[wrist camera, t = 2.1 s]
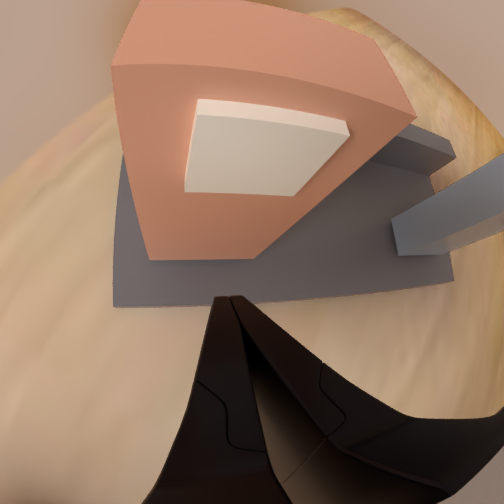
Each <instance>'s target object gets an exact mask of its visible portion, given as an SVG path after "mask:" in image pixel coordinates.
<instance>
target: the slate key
mask: <svg viewBox="0 0 504 504" xmlns="http://www.w3.org/2000/svg"><path fill="white" fill-rule="evenodd" d="M391 221H392V226H393V231H394V236H395V241H396V246H397V251H398V256H409V255H442V254H444V253H447V252H450V251H453V250H455V249H458V248H461V247H463V246H466V245H469V244H471V243H474V242H476V241H479V240H482V239H484V238H487V237H489V236H492V235H494V234H497V233H499V232H502V231H504V153H503V154H502V155H500V156H498V157H497V158H495V159H493V160H492V161H490V162H489V163H487V164H485V165H484V166H482V167H480V168H479V169H477V170H475V171H474V172H472V173H470V174H469V175H467V176H465V177H464V178H462V179H460V180H459V181H457V182H455V183H454V184H452V185H450V186H448V187H447V188H445V189H443V190H442V191H440V192H438V193H436V194H435V195H433V196H431V197H429V198H428V199H426V200H424V201H422V202H421V203H419V204H417V205H415V206H413V207H412V208H410V209H408V210H406V211H405V212H403V213H401V214H399V215H397V216H396V217H394V218H392V219H391Z"/></svg>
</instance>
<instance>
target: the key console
mask: <svg viewBox="0 0 504 504" xmlns="http://www.w3.org/2000/svg"><path fill="white" fill-rule="evenodd" d="M455 158H456V155H455V153H454V150H453V148H452V146H451V143H450V141H449V140H447V139H445V138H443V137H441V136H438V135H436V134H434V133H432V132H429V131H427V130H424V129H422V128H420V127H417V126H415V125H412V124H409V125H408V126H406V127H405V128H404V129H403V130H402V131H401V132H400V133H398V134H397V135H396V136H395V137H394V138H393V139H392V140H390V141H389V142H388V143H387V144H386V145H385V146H384V147H382V148H381V149H380V150H379V151H378V152H377V153H376V154H374V155H373V156H372V157H371V158H370V159H369V160H368V161H366V162H365V163H364V164H363V165H362V166H361V167H360V168H358V169H357V170H356V171H355V172H354V173H353V174H352V175H350V176H349V177H348V178H347V179H346V180H345V181H343V182H342V183H341V184H340V185H339V186H338V187H337V188H335V189H334V190H333V191H332V192H331V193H330V194H328V195H327V196H326V197H325V198H324V199H323V200H322V201H320V202H319V203H318V204H317V205H316V206H315V207H313V208H312V209H311V210H310V211H309V212H308V213H307V214H305V215H304V216H303V217H302V218H301V219H300V220H298V221H297V222H296V223H295V224H294V225H293V226H291V227H290V228H289V229H288V230H287V231H286V232H285V233H283V234H282V235H281V236H280V237H279V238H278V239H276V240H275V241H274V242H273V243H272V244H271V245H269V246H268V247H267V248H266V249H265V250H264V251H262V252H261V253H260V254H259V255H258V256H257V257H255V258H254V259H217V260H149V257H148V254H147V250H146V247H145V243H144V239H143V236H142V232H141V228H140V225H139V221H138V217H137V213H136V209H135V205H134V200H133V196H132V192H131V187H130V183H129V178H128V174H127V169H126V164H125V159H124V154H123V158H122V165H121V172H120V180H119V188H118V198H117V208H116V220H115V235H114V256H113V307H116V308H140V307H189V306H212V303H213V299H214V297H215V296H228V297H229V296H231V295H243V296H244V297H245V298H247V299H248V300H249V301H250V302H251V303H252V304H253V303H269V302H283V301H296V300H308V299H319V298H330V297H340V296H350V295H359V294H368V293H376V292H385V291H393V290H401V289H408V288H415V287H422V286H429V285H436V284H443V283H449V282H452V281H454V277H453V271H452V265H451V260H450V255H449V252H447V253H444V254H442V255H409V256H398V251H397V246H396V241H395V236H394V231H393V226H392V221H391V219H392V218H394V217H396V216H397V215H399V214H401V213H403V212H405V211H406V210H408V209H410V208H412V207H413V206H415V205H417V204H419V203H421V202H422V201H424V200H426V199H428V198H429V197H431V196H433V195H435V194H434V190H433V187H432V184H431V181H430V178H429V175H431V174H432V173H434V172H436V171H437V170H439V169H440V168H442V167H443V166H445V165H446V164H448V163H449V162H451V161H452V160H454V159H455Z"/></svg>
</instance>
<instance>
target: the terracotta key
mask: <svg viewBox="0 0 504 504" xmlns="http://www.w3.org/2000/svg"><path fill="white" fill-rule="evenodd" d="M111 73H112V82H113V90H114V98H115V106H116V113H117V119H118V126H119V132H120V137H121V143H122V149H123V154H124V159H125V164H126V169H127V174H128V178H129V183H130V187H131V192H132V196H133V200H134V205H135V209H136V213H137V217H138V221H139V225H140V228H141V232H142V236H143V239H144V243H145V247H146V250H147V254H148V257H149V260H217V259H254V258H255V257H257V256H258V255H259V254H260V253H261V252H262V251H264V250H265V249H266V248H267V247H268V246H269V245H271V244H272V243H273V242H274V241H275V240H276V239H278V238H279V237H280V236H281V235H282V234H283V233H285V232H286V231H287V230H288V229H289V228H290V227H291V226H293V225H294V224H295V223H296V222H297V221H298V220H300V219H301V218H302V217H303V216H304V215H305V214H307V213H308V212H309V211H310V210H311V209H312V208H313V207H315V206H316V205H317V204H318V203H319V202H320V201H322V200H323V199H324V198H325V197H326V196H327V195H328V194H330V193H331V192H332V191H333V190H334V189H335V188H337V187H338V186H339V185H340V184H341V183H342V182H343V181H345V180H346V179H347V178H348V177H349V176H350V175H352V174H353V173H354V172H355V171H356V170H357V169H358V168H360V167H361V166H362V165H363V164H364V163H365V162H366V161H368V160H369V159H370V158H371V157H372V156H373V155H374V154H376V153H377V152H378V151H379V150H380V149H381V148H382V147H384V146H385V145H386V144H387V143H388V142H389V141H390V140H392V139H393V138H394V137H395V136H396V135H397V134H398V133H400V132H401V131H402V130H403V129H404V128H405V127H406V126H408V125H409V124H410V123H411V122H412V121H413V120H414V119H416V118H417V116H416V114H415V112H414V110H413V108H412V106H411V103H410V101H409V99H408V97H407V95H406V94H405V92H404V90H403V88H402V86H401V84H400V82H399V80H398V79H397V77H396V75H395V73H394V71H393V70H392V68H391V66H390V64H389V63H388V61H387V59H386V58H385V56H384V55H383V53H382V51H381V50H380V48H379V47H378V45H377V43H376V42H375V40H374V39H372V38H369V37H367V36H365V35H362V34H360V33H357V32H355V31H352V30H350V29H347V28H344V27H342V26H339V25H336V24H333V23H330V22H328V21H325V20H321V19H318V18H315V17H312V16H308V15H305V14H302V13H298V12H294V11H290V10H286V9H282V8H278V7H274V6H269V5H264V4H259V3H253V2H248V1H242V0H141V1H140V3H139V5H138V7H137V9H136V11H135V13H134V14H133V16H132V19H131V20H130V23H129V25H128V27H127V29H126V31H125V33H124V35H123V37H122V40H121V42H120V44H119V47H118V49H117V51H116V54H115V56H114V59H113V61H112V64H111Z"/></svg>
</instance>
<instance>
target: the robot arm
mask: <svg viewBox="0 0 504 504" xmlns="http://www.w3.org/2000/svg"><path fill="white" fill-rule="evenodd" d="M142 504H504V406H503V407H502V408H501V409H500V410H499V411H498V412H497V413H496V414H495V415H493V416H490V417H485V418H476V419H426V418H415V417H411V416H408V415H405V414H402V413H400V412H398V411H396V410H395V409H393V408H391V407H390V406H388V405H386V404H384V403H383V402H381V401H379V400H378V399H376V398H374V397H373V396H371V395H369V394H368V393H366V392H365V391H363V390H361V389H360V388H358V387H357V386H355V385H354V384H352V383H351V382H349V381H348V380H346V379H345V378H344V377H342V376H341V375H340V374H338V373H337V372H336V371H334V370H333V369H332V368H330V367H329V366H328V365H327V364H325V363H322V361H321V360H320V359H319V358H318V357H316V356H315V355H314V354H313V353H311V352H310V351H309V350H308V349H306V348H305V347H304V346H303V345H302V344H300V343H299V342H298V341H297V340H295V339H294V338H293V337H292V336H291V335H289V334H288V333H287V332H286V331H285V330H283V329H282V328H281V327H280V326H278V325H277V324H276V323H275V322H274V321H273V320H271V319H270V318H269V317H268V316H267V315H265V314H264V313H263V312H262V311H261V310H259V309H258V308H257V307H256V306H255V305H254V304H252V303H251V302H250V301H249V300H248V299H247V298H245V297H244V296H243V295H231V296H229V297H228V296H215V297H214V299H213V303H212V307H211V311H210V315H209V319H208V323H207V327H206V331H205V335H204V339H203V344H202V348H201V352H200V356H199V360H198V365H197V369H196V373H195V377H194V382H193V385H192V390H191V394H190V398H189V401H188V405H187V409H186V411H185V414H184V417H183V420H182V422H181V425H180V428H179V430H178V433H177V435H176V438H175V440H174V442H173V445H172V447H171V450H170V452H169V455H168V457H167V459H166V462H165V464H164V467H163V469H162V471H161V473H160V475H159V477H158V479H157V481H156V483H155V485H154V487H153V488H152V490H151V491H150V493H149V494H148V495H147V497H146V498H145V500H144V501H143V502H142Z"/></svg>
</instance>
